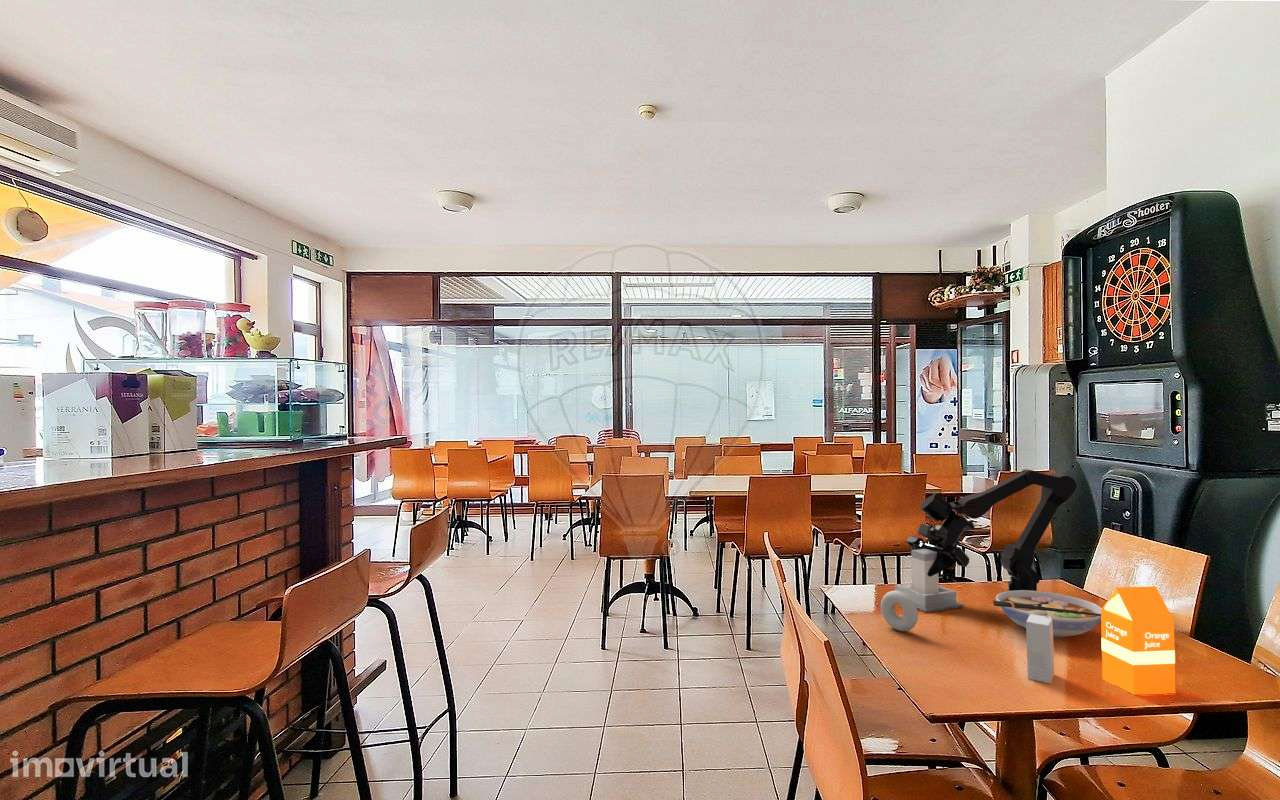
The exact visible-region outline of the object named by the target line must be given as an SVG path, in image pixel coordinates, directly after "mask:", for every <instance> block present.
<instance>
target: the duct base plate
mask: <svg viewBox="0 0 1280 800" xmlns="http://www.w3.org/2000/svg"><path fill="white" fill-rule="evenodd" d="M956 603H957V604H952V605H946V606H940V607H933V608H927V609H925V608H922V607H920V606H917V605H916V608H917V609H919V610H921V611H920V612H922V611H924V612H928V613H932V612H931V611H934V612H938V611H937V610H940V611H944V610H943V609H947V610H950V609H949V608H953V609H957V608H956V607H959V608H963V607H962V606H964V607H965V605H964V604H963V603H960V602H957V601H956ZM919 610H918V611H919ZM924 612H923V613H924Z"/></svg>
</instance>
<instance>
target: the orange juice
mask: <svg viewBox="0 0 1280 800" xmlns="http://www.w3.org/2000/svg"><path fill="white" fill-rule="evenodd" d="M1101 608H1102V609H1101V621H1100V622H1101V623H1100V624H1101V627H1100V628H1101V639H1100V641H1101V642H1100V643H1101V646H1100V647H1101V668H1102V669H1101V673H1102V674H1101V675H1102V676H1101V677H1102V678H1101V679H1102V680H1103V681H1105V682H1108V683H1109V684H1111V685H1113V686H1115V685H1116V686H1118V687H1120V688H1122V689H1124V690H1126V691H1128V692H1130V693H1132V694H1164V693H1165V694H1164V695H1168V694H1167V693H1175V694H1176V649H1175V620H1174V618H1173V616H1172V614H1171V612H1170V610H1169V609H1168V607H1167V605H1166V603H1165V601H1164V599H1163V597H1162V595H1161V594H1160V592H1159V590H1158V589H1157V586H1155V585H1154V586H1153V585H1152V586H1127V587H1115V589H1114V591H1113V592H1112V594H1111V595H1110V597H1108V599H1107V600H1106V602H1105V604H1104V605H1103V607H1101ZM1116 686H1115V687H1116ZM1118 687H1117V688H1118ZM1120 688H1119V689H1120ZM1122 689H1121V690H1122ZM1124 690H1123V691H1124ZM1126 691H1125V692H1126ZM1128 692H1127V693H1128Z"/></svg>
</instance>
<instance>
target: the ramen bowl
mask: <svg viewBox="0 0 1280 800" xmlns="http://www.w3.org/2000/svg"><path fill="white" fill-rule="evenodd" d="M992 604H993V606H995V607H1000V608H1001V610H1002V611H1003V613H1005V615H1007V617H1008V618H1009V619H1010V620H1011V621H1013V622H1014V623H1015V624H1016V625H1018V626H1020V627H1023V628H1025V629H1026V621H1027V619H1028V617H1029V615H1030V614H1033V615H1039V616H1045V617H1050V618H1052V619H1053V639H1054V638H1055V639H1060V638H1061V639H1062V638H1066V637H1073V636H1079V635H1081V634H1085V633H1086V632H1089V631H1092V629H1094V628H1095V627H1096V626H1097V625H1099V623H1100V622H1101V609H1102V608H1103V607H1101V606H1100V605H1098V604H1096V603H1095V602H1091V601H1089V600H1086V599H1083V598H1080V597H1076V596H1071V595H1066V594H1062V593H1057V592H1051V591H1043V590H1037V591H1030V590H1014V591H1008V590H1006V591H1002V592H999V593H997V595H996V596H995V600H993V601H992Z"/></svg>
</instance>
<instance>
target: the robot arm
mask: <svg viewBox="0 0 1280 800" xmlns="http://www.w3.org/2000/svg"><path fill="white" fill-rule="evenodd" d="M1031 485H1032V486H1033V485H1037V486H1040V487H1041V490H1040V492H1041V493H1040V500H1039V503H1038V504H1037V506H1036V508H1035V509H1034V511H1033V513H1032V515H1031V516H1030V518H1029V521H1028V522H1027V524H1026V526H1025V527H1024V529H1023V531H1022V532H1021V535H1020V536H1019V538H1018V540H1017V541H1016V542H1015V543H1013V544H1010V543H1006V545H1005V546H1004V549H1003V551H1002V552H1001V553H999V556H1000V564H1001V566H1002V567H1003V569H1005V570H1006V571H1007V574H1008V576H1010V577H1009V578H1010V579H1009V581H1008V582H1007V587H1008V588H1007V591H1014V590H1030V591H1038V589H1037V588H1038V587H1037V586H1038V585H1037V584H1039V582H1040V581H1041V576H1040V575H1039V574H1038V572H1036V570H1035V569H1033V565H1034V562H1035V550H1036V548H1037V546H1038V544H1039V543H1040V541H1041V539H1042V537H1043V535H1044V534H1045V532H1046V530H1047V529H1048V527H1049V526H1050V523H1051V521H1052V520H1053V518H1054V516H1055V515H1056V513H1057V511H1058V509H1059V508H1060V507H1061V506H1062V505H1064V504H1065V503H1066V502H1067V501H1069V500H1070V499H1071V497H1072V496H1073V495H1075V493H1076V491H1077V489H1078V485H1077V482H1076V480H1075V479H1074V478H1072V477H1071V476H1068V475H1065V474H1060V473H1051V474H1045V473H1042V472H1041V473H1040V472H1037V471H1035V470H1033V469H1027V468H1025V469H1022V470H1021V471H1019V472H1018V473H1017V474H1014V475H1012V476H1011V477H1009V478H1007V479H1004V480H1002V481H1001V482H999V483H997V484H996V485H994V486H991V487H990V488H988V489H986V490H984V491H980V492H975V493H972V494H969V495H966V496H962V497H961V498H959V499H958V500H956V501H951V502H948V501H947V500H945V499H944V498H943V497H942V495H940V494H939V493H938V492H934V493H932V495H930V496H928V497H927V498H925V499H924V500H923V501H922V502H921V504H920V506H919V509H920V511H922V512H923V513H925V514H926V515H927V516H928V517H930V518H931V519H932V520H933V521H934V522H938V521H940V522H942V524H940V525H939V524H937V525H935V526H933V525H930V524H925V523H920V524H919V527H918V529H917V532H916V533H917V535H921V537H918V536H914V535H909V536H908V537H907V539H906V541H905V542H906V543H907V544H908V546H909V547H910V548H911V550H918V549H928V550H931V551H934V552H937V558H936V560H935V561H934V563H933V565H932V566H931V568H930V569H929V572H928V574H927V575H928V576H930V577H931V576H933V575H935V574H937V573H938V574H939V573H941V572H943V571H945V570H947V569H950V568H954V567H957V566H959V567H963V568H967V566H968V565H969V564H970V557H969V556H968V554H966V552H965V551H964V550H963V549H962V547H958V546H959V544H960V543H961V542H960V541H959V538H960V537H961V536H962V534H963V533H964V531H965V530H966V531H973V530H975V525H974V522H973V520H968V519H967V518H969V519H974V520H975V519H980V518H981V517H982V516H984V515H985V514H986V513H988V512H989V511H990V510H991V509H992V507H994V505H996V504H997V503H999V502H1000V501H1003V500H1004V499H1007V498H1009V497H1011V496H1012V495H1014V494H1016V493H1018V492H1021V491H1022V490H1024V489H1026V488H1028V487H1030V486H1031ZM961 514H962V515H961ZM964 516H965V517H967V518H965V517H964ZM922 536H923V537H925V539H923V538H922ZM924 540H925V541H926V542H928V543H926V542H925V541H924ZM955 545H956V546H955Z"/></svg>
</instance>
